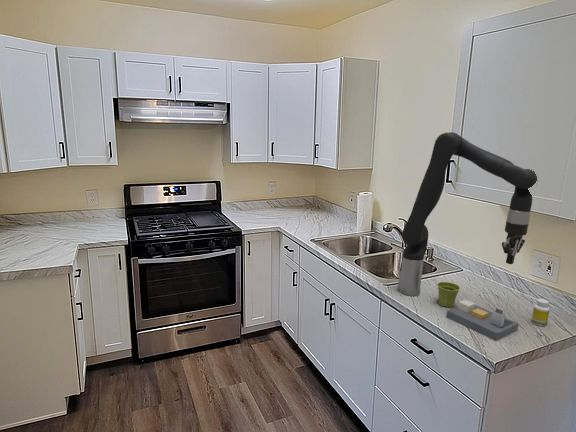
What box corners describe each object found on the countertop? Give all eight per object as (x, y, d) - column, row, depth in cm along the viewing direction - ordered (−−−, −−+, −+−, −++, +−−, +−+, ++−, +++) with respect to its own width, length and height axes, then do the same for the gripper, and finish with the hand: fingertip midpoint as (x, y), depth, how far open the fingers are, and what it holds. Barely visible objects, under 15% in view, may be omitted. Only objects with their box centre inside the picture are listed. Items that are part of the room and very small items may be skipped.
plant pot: (462, 306, 172) (465, 288, 170) (447, 310, 167) (449, 291, 165) (445, 298, 180) (447, 280, 178) (430, 302, 175) (432, 283, 173)
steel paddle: (490, 322, 151) (493, 308, 150) (492, 321, 152) (495, 307, 151) (501, 327, 148) (503, 312, 146) (503, 326, 149) (505, 311, 147)
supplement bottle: (547, 327, 155) (552, 304, 153) (532, 324, 157) (536, 302, 155) (544, 321, 160) (549, 299, 158) (529, 318, 162) (533, 296, 160)
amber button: (470, 319, 159) (471, 310, 158) (476, 317, 161) (478, 308, 160) (480, 324, 155) (482, 315, 154) (487, 321, 157) (488, 312, 156)
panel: (446, 317, 162) (447, 310, 161) (467, 308, 170) (468, 302, 169) (496, 340, 145) (497, 333, 144) (517, 330, 153) (518, 322, 152)
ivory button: (457, 310, 163) (458, 302, 162) (463, 308, 165) (465, 299, 165) (467, 315, 159) (468, 306, 158) (473, 312, 162) (475, 303, 161)
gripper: (517, 217, 158) (509, 257, 162) (498, 220, 151) (490, 263, 155) (536, 221, 152) (527, 263, 156) (518, 225, 145) (509, 269, 149)
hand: (509, 263), depth 155 cm, fingers closed
